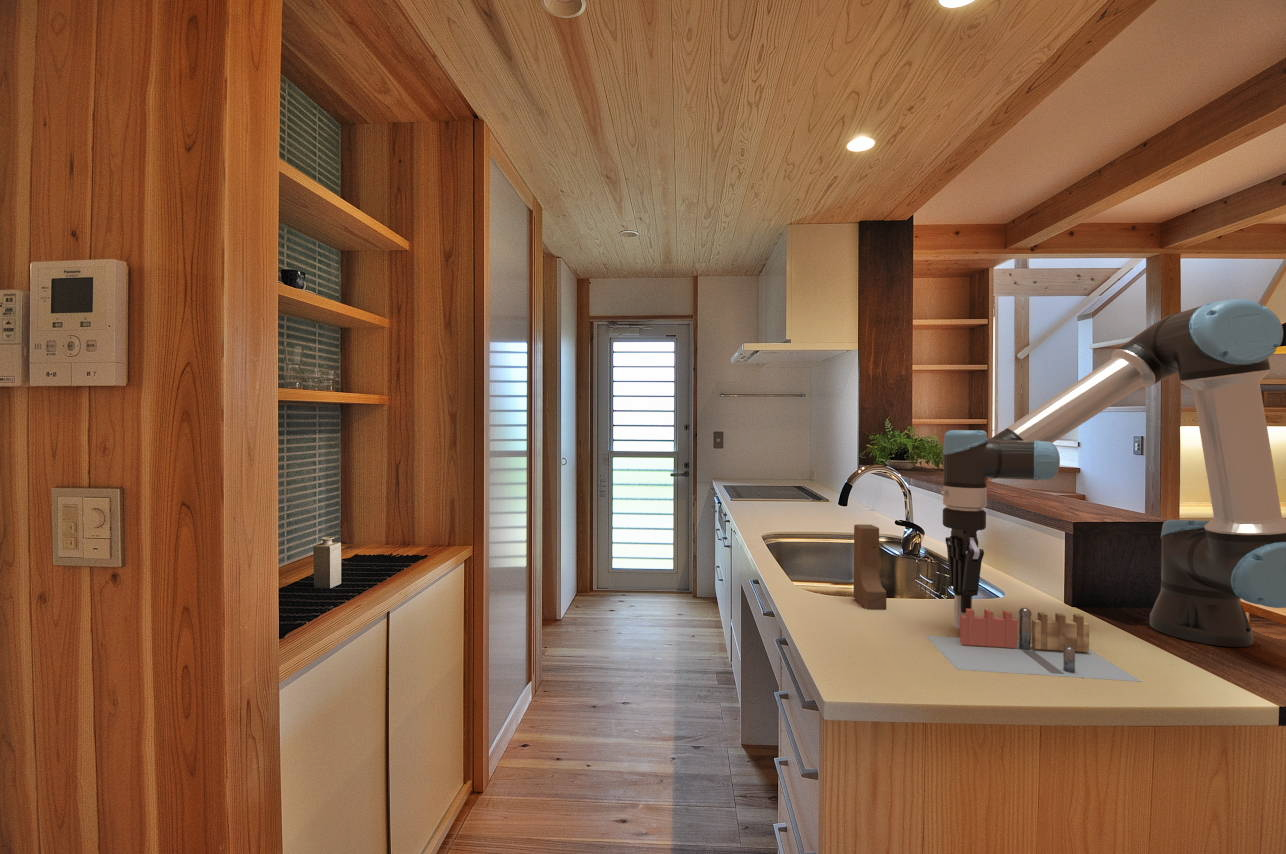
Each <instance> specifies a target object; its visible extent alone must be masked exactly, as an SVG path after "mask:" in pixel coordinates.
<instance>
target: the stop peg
mask: <svg viewBox="0 0 1286 854" xmlns="http://www.w3.org/2000/svg"><path fill="white" fill-rule="evenodd" d="M1063 670H1064V671H1066V672H1069V673H1075V647H1072V646H1067V645H1065V646H1064V654H1063Z"/></svg>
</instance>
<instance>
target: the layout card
mask: <svg viewBox="0 0 1286 854" xmlns="http://www.w3.org/2000/svg"><path fill="white" fill-rule="evenodd" d="M925 637H926V638H927V639H928V641H930V642H931V643H932V644H933V645H934V646H935V647H936V648H937V650H939V652H940V653H941V654H942V655H943V656H944V657H945V658H946V659H947V660H948V661H949V662H950V663H951V664H952V666H954V667H955V669H956V670H958V671H959V670H960V671H972V672H973V671H974V672H987V673H988V672H989V673H1004V674H1019V675H1032V676H1033V675H1035V676H1049V677H1061V678H1062V677H1064V678H1079V679H1093V680H1111V681H1126V682H1136V683H1137V682H1138V683H1139V682H1140V683H1141V682H1142V683H1143V681H1142V680H1141V679H1139V678H1137V677H1136V676H1134V675H1133V674H1131V673H1129V672H1128V671H1126V670H1124V669H1123V668H1121V667H1120V666H1118V665H1116V664H1115V663H1113V662H1112V661H1111V660H1108V659H1107V658H1106V657H1103V656H1102V655H1100V654H1099V653H1097V652H1095V651H1093V650H1092V649H1090V648H1089V652H1077V651H1075V673H1069V672H1066V671H1064V670H1063V654H1064V651H1059V650H1043V649H1035V648H1033V647H1032V641H1031V648H1030V650H1029V651H1026V650H1022V649H1020V648H1019V640H1018V647H1017V648H1013V647H1012V648H1010V647H996V646H979V645H963V644H961V643H960V637H954V636H953V637H951V636H938V635H926V636H925Z"/></svg>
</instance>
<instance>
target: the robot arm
mask: <svg viewBox="0 0 1286 854" xmlns="http://www.w3.org/2000/svg"><path fill="white" fill-rule="evenodd" d="M1283 338H1284V328H1283V325H1282V322H1281V321H1280V318H1279V317H1278V315H1277V314H1276V313H1275V312H1274V311H1273V310H1271V308H1269V307H1267V306H1266V305H1263V304H1261V303H1259V302H1257V301H1254V300H1251V299H1244V298H1234V299H1225V300H1218V301H1217V300H1216V301H1214V302H1211V303H1206V304H1203V305H1200V306H1197V307H1194V308H1191V309H1187V310H1185V311H1180V312H1176V313H1173V314H1170V315H1167V316H1165V317H1163V318H1162V319H1159V320H1158V321H1156V322H1154V323H1153V324H1152V325H1150V326H1149V327H1147V328H1146V329H1144V330H1142V331H1141V332H1140V333H1138V334H1137V335H1136V336H1134V337H1133V338H1131V339H1130V340H1129V341H1127V342H1126V343H1124V344H1123V345H1122V346H1120V347H1118V348H1117V349H1115V350H1114V351H1113V352H1112V353H1111V359H1109V360H1108V361H1106V362H1105V363H1104V364H1102V365H1100V366H1098V367H1097V368H1096V369H1094V370H1092V371H1091V372H1089V373H1088V374H1087V375H1085V376H1083V377H1082V378H1081V379H1079V380H1077V381H1075V383H1073V384H1071V385H1070V386H1068V387H1067V388H1065V389H1064V390H1062V391H1061V392H1059V393H1057V394H1056V395H1055V396H1053V397H1051V398H1050V399H1049V400H1047V401H1046V402H1044V403H1043V404H1041V405H1039V406H1038V407H1036V408H1035V409H1034V410H1032V411H1030V412H1029V413H1027V414H1026V415H1024V416H1022V417H1021V418H1020V419H1018V420H1017V421H1015V422H1014V423H1012V424H1011V425H1009V426H1008V427H1006V428H1005V429H1003V430H1001V431H1000V432H999V433H997V434H995V435H994V436H992V437H991V438H989V437H988V433H987V432H986V431H985V430H979V429H977V430H971V429H970V430H969V429H968V430H967V429H966V430H965V429H964V430H963V429H961V430H960V429H953V430H952V429H951V430H948V431H946V432H945V434H944V438H943V439H944V440H943V451H942V455H943V456H942V457H943V460H942V461H943V462H942V465H943V467H942V468H943V473H942V474H943V482H942V483H943V485H942V486H943V490H941V491H940V495H941V496H942V504H943V505H944V506H945V507H943V508H942V525H943V526H944V528H948V529H950V530H951V531H950V536H948V537H945V540H944V541H945V545H946V549H947V550H946V551H947V552H946V553H947V561H948V562H947V564H948V577H949V578H948V579H949V586H950V587H952V590H953V593H954V594H953V595H954V596H953V598H954V600H953V602H954V607H953V609H954V610H953V611H954V612H953V615H954V616H953V617H954V618H953V625H954V627H955V628H957V629H960V616H966V608H967V609H972V610H973V597H974V596H975V597H976V596H978V595H979V585H980V579H981V572H982V571H981V569H982V561H983V558H984V556H985V550H984V549H982V548H979V539H978V534H977V532H978V531H983V530H986V528H987V512H986V510H984V509H985V508H986V507H987V506H988V505H987V504H988V503H987V495H988V491H987V490H988V487H987V486H988V485H987V480H988V479H991V480H994V479H1001V480H1002V479H1003V480H1005V479H1006V480H1026V481H1029V480H1030V481H1034V482H1035V481H1046V480H1053V479H1054V478H1055V477H1056V476H1057V475H1058V472H1059V469H1060V465H1061V464H1060V463H1061V459H1060V458H1061V457H1060V452H1059V449H1058V447H1057V446H1056V445H1055V444H1054V443H1055V442H1056V441H1058V440H1059V439H1061V438H1063V437H1064V436H1066V435H1067V434H1069V433H1071V432H1072V431H1074V430H1075V429H1077V428H1078V427H1080V426H1081V425H1083V424H1084V423H1086V422H1088V421H1089V420H1091V419H1093V418H1094V417H1096V416H1097V415H1098V414H1101V413H1102V412H1103V411H1105V410H1107V409H1108V408H1109V407H1111V406H1113V405H1114V404H1116V403H1118V402H1119V401H1121V400H1122V399H1124V398H1126V397H1127V396H1128V395H1130V394H1131V393H1133V392H1134V391H1136V390H1138V389H1139V388H1151V387H1153V386H1154V385H1156V384H1157V383H1159V382H1160V381H1162V380H1165V379H1167V378H1170V377H1172V376H1174V375H1178V374H1179V380H1180V383H1181V384H1183V385H1184V386H1185V387H1188V388H1190V389H1191V390H1192V393H1193V396H1194V403H1195V410H1196V417H1197V422H1198V429H1199V433H1200V440H1201V448H1202V452H1203V459H1204V465H1205V471H1206V478H1207V483H1208V489H1209V490H1208V491H1209V496H1210V503H1211V509H1212V514H1213V515H1212V516H1213V517H1212V518H1211V519H1210V520H1197V519H1196V520H1193V519H1192V520H1189V519H1167V520H1166V521H1163V524H1162V527H1161V533H1160V536H1159V537H1160V541H1161V543H1160V545H1161V548H1160V549H1161V551H1160V553H1161V559H1160V560H1161V562H1160V564H1161V565H1160V570H1161V571H1160V576H1161V577H1160V578H1161V579H1160V580H1161V581H1160V590H1159V591H1160V592H1159V594H1158V597H1157V598H1156V600H1155V602H1154V605H1153V608H1152V610H1151V611H1150V613H1149V626H1150V627H1151V628H1152V629H1153V630H1155V631H1157V632H1159V633H1163V634H1165V635H1166V636H1167V635H1168V636H1171V637H1173V638H1174V637H1175V638H1178V639H1181V640H1186V641H1189V642H1195V643H1199V644H1205V645H1211V646H1217V647H1218V646H1220V647H1226V648H1227V647H1229V648H1230V647H1231V648H1244V647H1251V646H1252V645H1253V644H1254V631H1253V629H1252V627H1251V624H1250V622H1249V619H1248V617H1247V614H1246V612H1245V609H1244V606H1243V605H1242V600H1243V601H1244V602H1247V603H1250V604H1254V605H1260V606H1263V607H1266V608H1267V607H1268V608H1273V609H1286V519H1285V518H1284V516H1283V515H1282V507H1281V504H1280V503H1281V502H1280V497H1279V496H1280V495H1279V492H1278V491H1279V490H1278V485H1277V484H1278V483H1277V477H1276V473H1275V467H1274V461H1273V455H1272V449H1271V442H1270V437H1269V432H1268V431H1269V429H1268V427H1267V426H1268V423H1267V418H1266V413H1265V406H1264V401H1263V395H1262V390H1261V384H1260V383H1261V381H1262V380H1263V379H1264V378H1266V376H1267V375H1268V374H1269V373H1270V372H1271V366H1270V361H1269V358H1270V357H1272V356H1273V354H1275V353H1276V351H1277V349H1278V348H1279V347H1280V346H1281V345H1282V343H1283Z"/></svg>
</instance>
